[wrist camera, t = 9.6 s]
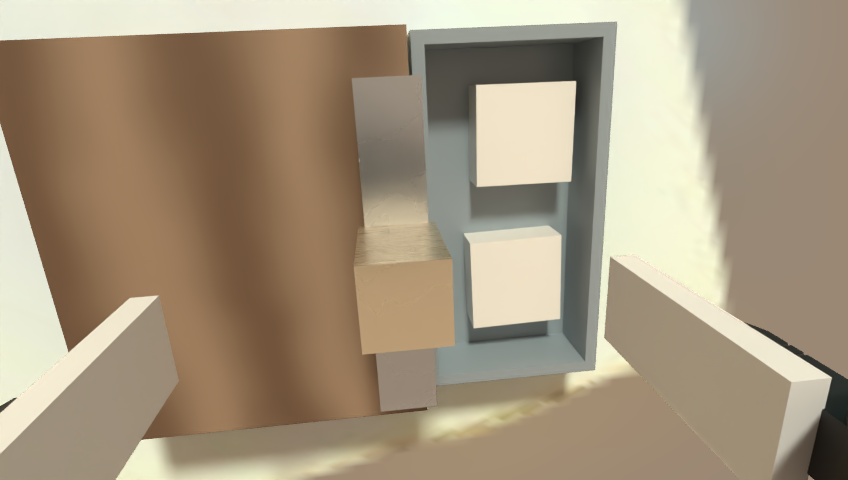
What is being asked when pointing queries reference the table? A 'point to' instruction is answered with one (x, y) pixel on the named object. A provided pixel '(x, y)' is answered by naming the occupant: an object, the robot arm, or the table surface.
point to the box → (518, 186)
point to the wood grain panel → (207, 206)
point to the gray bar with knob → (399, 245)
